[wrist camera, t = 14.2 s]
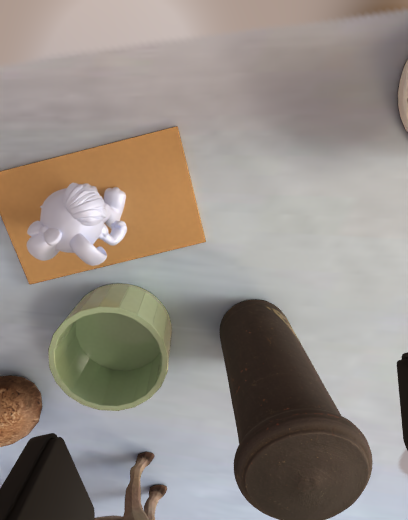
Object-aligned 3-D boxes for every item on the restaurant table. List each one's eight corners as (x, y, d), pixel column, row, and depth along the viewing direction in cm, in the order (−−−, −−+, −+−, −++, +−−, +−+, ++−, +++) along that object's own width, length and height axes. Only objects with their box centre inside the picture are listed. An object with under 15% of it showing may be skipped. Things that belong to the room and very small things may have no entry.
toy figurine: (136, 181, 34) (108, 190, 23) (132, 242, 36) (104, 279, 24) (67, 173, 34) (3, 178, 22) (67, 234, 36) (7, 269, 24)
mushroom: (8, 460, 40) (-19, 472, 34) (-32, 409, 41) (-64, 412, 35) (63, 406, 42) (47, 409, 37) (24, 361, 44) (2, 356, 38)
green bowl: (156, 272, 37) (149, 294, 31) (182, 360, 41) (180, 396, 34) (57, 296, 38) (30, 323, 32) (90, 382, 41) (72, 421, 35)
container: (268, 373, 42) (334, 553, 22) (203, 345, 40) (213, 512, 21) (304, 315, 39) (410, 459, 20) (237, 284, 38) (282, 406, 19)
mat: (177, 126, 33) (177, 126, 33) (205, 240, 37) (205, 241, 36) (-14, 175, 34) (-16, 175, 34) (31, 283, 37) (29, 284, 37)
